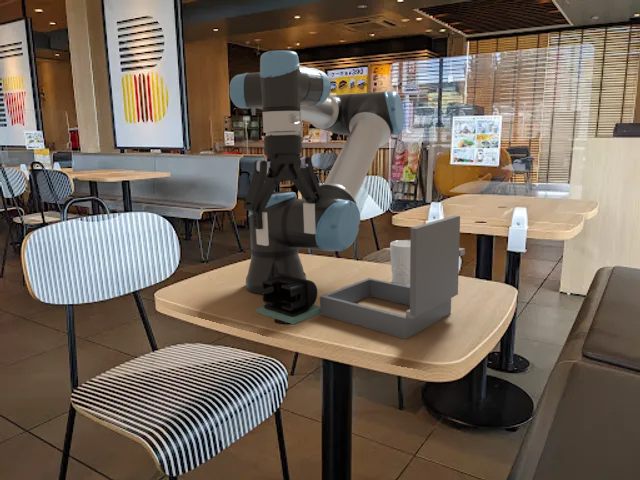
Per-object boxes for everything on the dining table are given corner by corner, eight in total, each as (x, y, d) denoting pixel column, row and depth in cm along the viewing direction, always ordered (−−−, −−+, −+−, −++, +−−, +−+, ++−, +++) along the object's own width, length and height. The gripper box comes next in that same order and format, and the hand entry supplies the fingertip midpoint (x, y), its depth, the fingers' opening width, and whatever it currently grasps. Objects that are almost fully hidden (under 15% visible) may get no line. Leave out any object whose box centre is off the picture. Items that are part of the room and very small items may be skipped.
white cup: (400, 276, 133) (400, 238, 131) (427, 281, 128) (428, 242, 126) (384, 283, 127) (384, 244, 125) (412, 288, 122) (412, 248, 120)
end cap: (318, 308, 107) (317, 277, 106) (294, 317, 102) (293, 285, 101) (285, 299, 114) (284, 270, 112) (261, 307, 109) (260, 277, 107)
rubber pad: (257, 312, 108) (256, 308, 108) (287, 301, 115) (286, 297, 115) (293, 324, 101) (293, 319, 101) (323, 312, 108) (323, 307, 107)
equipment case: (320, 314, 106) (317, 217, 102) (374, 292, 120) (373, 205, 116) (413, 341, 91) (414, 229, 87) (462, 312, 105) (466, 214, 101)
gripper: (246, 135, 89) (253, 252, 93) (337, 132, 107) (339, 230, 111) (220, 136, 94) (227, 247, 98) (311, 132, 112) (314, 227, 116)
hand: (287, 238), depth 105 cm, fingers open, 13 cm apart
